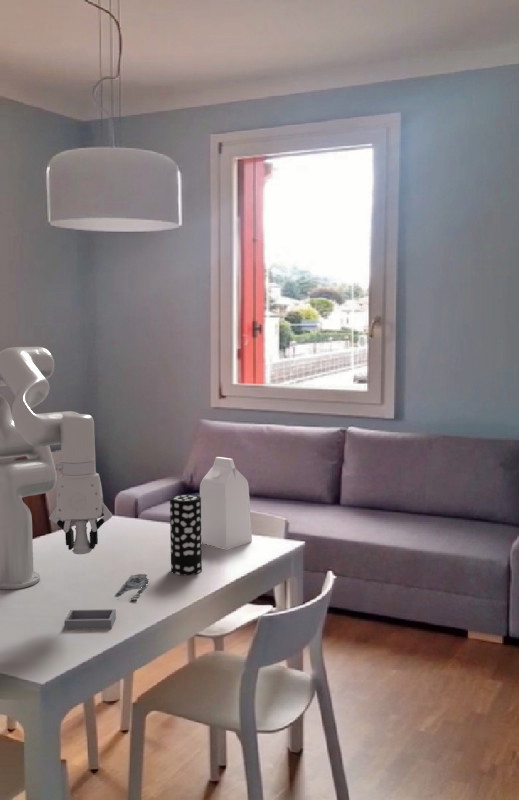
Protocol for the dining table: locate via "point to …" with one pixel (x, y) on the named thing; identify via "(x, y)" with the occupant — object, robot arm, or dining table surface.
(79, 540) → the rook chess piece
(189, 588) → the dining table surface
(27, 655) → the dining table surface
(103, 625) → the gray rectangular open tray
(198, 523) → the white-spotted black cylinder
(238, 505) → the milk
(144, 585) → the driftwood
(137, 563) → the dining table surface
